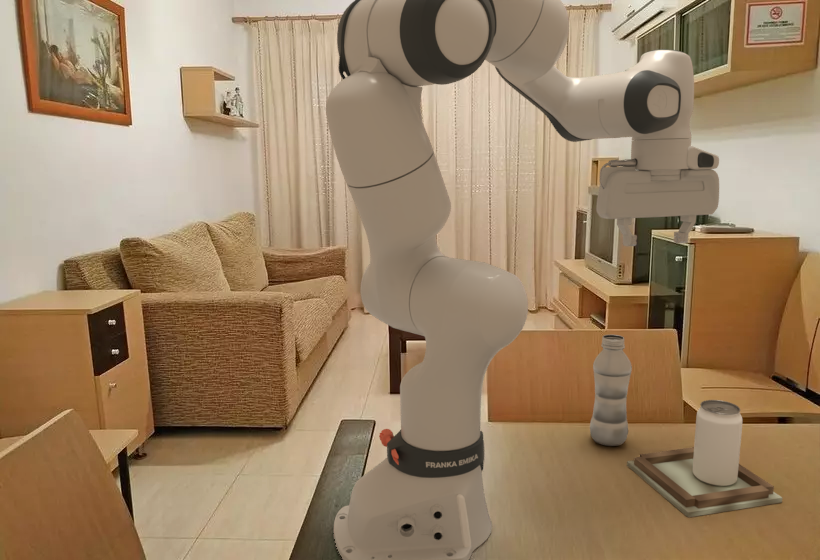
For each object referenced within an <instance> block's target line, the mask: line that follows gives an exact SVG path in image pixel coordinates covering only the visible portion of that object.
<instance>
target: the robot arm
mask: <svg viewBox="0 0 820 560" xmlns="http://www.w3.org/2000/svg"><path fill="white" fill-rule="evenodd" d="M569 32H570V19H569V13H568V10H567V8H566V6H565V4H564V3H563V1H562V0H353V1H352V2H351V3H350V4H349V5H348V6H347V7H346V8H345V10H344V11H343V12H342V14H341V17H340V19H339V22H338V26H337V33H336V36H337V37H336V43H337V46H336V47H337V53H338V57H339V59H338V73H339V75H340V77H341V78H342V80H341V81H340V82H339V83H337V84H336V85H335V86H333V87H334V88H332V90H331V91H330V93H329V94H328V96H327V99H326V103H325V114H326V120H327V125H328V130H329V133H330V138H331V142H332V143H331V144H332V145H333V149H334V150H333V151H334V152H335V156H336V160H337V162H338V165H339V169H340V171H341V173H342V177H343V178H344V180H345V183H346V185H347V188H348V190H349V191H348V192H349V193H350V195H351V198H352V201H353V203H354V205H355V207H356V210H357V212H358V215H359V218H360V221H361V223H362V226H363V228H364V231H365V234H366V238H367V242H368V246H369V256H370V257H369V259H370V261H369V264H368V265H367V266H366V269H364V272H363V274H362V277H361V282H360V292H359V293H360V299H361V303H362V305H363V306H364V308H365V310H366V311H367V313H369V315H371V316H372V317H375V318H376V319H378V321H381V322H382V323H384V324H385V325H387V326H389V327H391V328H393V329H396V330H400V331H404V332H406V333H407V332H408V333H412V334H415V335H419V336H422V337H424V339H425V345H426V346H425V352H424V353H425V354H424V357H423V360H422V362H419V363H417V364H416V365H414V366H413V367H411V368H410V369H409V370H408V371H407V372H406V373H405V374H404V375H403V377H402V379H401V381H400V385H399V394H400V395H399V399H400V401H399V402H400V407H399V409H400V430H399V431H398V432H396V434H395V435H394V433H393V431H392V430H391V429H390V428H384V429H382V430H381V431H380V432H379V440H380V442H381V445H382V446H384V447H386V458H385V459H384V460H382V461H381V462H380V463H378V464H377V465H376V466H374V467H373V468H372V469H370V470H369V471H368V472H367V473H365V474H364V475H362V476H361V477H359V478H358V479H357V480H356V481H355V483H354V486H353V488H352V489H351V494H350V498H349V504H348V505H344V506H342V507H341V508H340V509H339V511H337V513H336V515H335V518H334V521H333V533H334V534H333V540H334V539H335V541H334V544H335V543H336V545H335V548H336V547H337V548H336V550H337V549H338V551H339V553H340V555H341V556H342V558H341V560H470V558H471V557H472V555H473V552H474V551H475V550H476V549H477V548H479V547H480V546H482V544H484V542H486V541H487V539H488V538H489V537H490V535H491V532H492V529H493V523H492V520H491V517H490V514H489V509H488V505H487V502H486V495H485V489H484V482H483V474H482V473H483V470H484V463H485V441H484V440H485V439H484V432H483V431H482V430H481V419H482V418H481V413H482V411H481V409H482V395H483V394H482V392H483V384H484V379H485V375H486V373H487V370H488V367H489V365H490V363H491V362H492V360H493V359H494V357H495V356H496V355H497V354H498V353H499V352H500V351H501V350H503V349H504V348H506V347H508V346H509V345H510V344H511V343H512V342H514V340H515V339H517V337H518V336H519V335H520V333H521V332H522V330H523V329H524V327H525V324H526V322H527V318H528V313H529V299H528V295H527V290H526V288H525V285H524V284H523V281H522V280H521V279H520V278H519V277H518V276H517V275H516V274H514V273H513V272H510V271H507V270H505V269H503V268H501V267H498V266H495V265H493V264H490V263H488V262H485V261H478V260H472V259H463V258H455V257H449V256H446V255H445V254H443V253H442V251H441V250H440V248H439V246H438V242H437V235H438V234H439V233H440V232H441V231H442V230H443V228H444V226H445V225H446V223H447V222H448V220H449V218H450V214H451V212H452V211H451V209H452V203H451V199H450V197H449V193H448V190H447V187H446V184H445V182H444V178H443V175H442V172H441V169H440V166H439V164H438V160H437V158H436V154H435V152H434V148H433V145H432V143H431V140H430V138H429V135H428V132H427V130H426V128H425V125H424V123H423V118H422V112H421V111H422V107H421V102H422V99H421V98H422V92H423V86H424V87H426V86H431V85H432V86H433V85H449V84H454V83H457V82H459V81H462V80H464V79H466V78H468V77H470V76H471V75H473V74H474V73H475V72H477V71H478V70H479V68H480V67H481V66H482V65H483V64H484V62H485V61H486V62H488V63H489V64H491V65H492V66H494V68H495V70H496V72H497V74H498V75H499V77H500V78H502V80H503V81H504V82H506V83H507V85H509V87H511V88H512V89H513V90H515V91H516V92H517V93H518V94H520V95H521V96H522V97H523V98H525V100H527V101H528V102H530V103H531V104H532V105H533V106H534V107H536V108H537V109H538V110H540V112H542V113H543V114H544V115H545V117H546V118H547V120H549V122H550V123H551V125H552V127H553V128H554V130H556V132H557V133H558V134H559V135H560V137H561V138H563V139H565V140H566V141H568V142H572V143H574V142H575V143H577V142H584V141H591V140H597V139H599V140H600V139H619V138H620V139H621V138H631V149H630V158H629V159H628V158H626V159H610V160H608V162H606V163H605V164H603V166H601V168H600V169H599V170H600V171H599V187H598V191H597V200H596V209H595V210H596V213H597V215H598V217H599V218H600V219H601V218H602V219H605V220H606V219H607V220H616V226H617V227H618V230H619V231H620V233H621V235H622V245H623V247H635V246H637V243H638V242H637V239H638V235H637V234H633V233H632V231H631V228H630V226H632V223H633V222H632V221H633V219H641V218H642V219H645V218H661V217H663V218H664V217H679V218H680V222H682V223H681V225H680V227H679V229H678V231H674V232H673V236H674V237H673V242H674V243H675V244H687V243H689V233H690V232H691V230H692V229H693V227H694V226H695V224H696V223H697V216H704V215H705V216H707V215H709V216H711V215H713V214H714V213H715V212H716V211H717V209H718V208H719V202H720V177H719V175H718V172H717V171H716V170H715V169H718V167H719V164H720V158H719V156H718V155H716V154H714V153H712V152H709V151H707V150H703V149H701V148H698V147H696V146H693V145H692V131H691V129H690V128H691V127H690V123H691V117H692V115H693V112H694V104H695V78H694V76H695V75H694V66H693V61H692V58H691V56H690V55H689V54H687V53H685V52H683V51H680V50H679V49H678V50H677V49H667V48H666V49H665V48H664V49H663V48H662V49H659V48H658V49H654V50H649V51H646V52H644V53H643V54H642V55H641V56H640V59H639V61H638V62H637V63H636V64H635V65H633V66H630V68H627V69H625V70H624V71H618V72H612V73H606V74H600V75H599V74H598V75H592V76H583V77H582V76H578V77H574V76H567V75H565V73H563V72H562V71H561V70H560V69H559V68H557V67H556V64H557V62H558V61H559V60H560V58H561V56H562V55H563V52H564V50H565V49H566V46H567V42H568V39H569ZM344 73H345V74H344ZM338 551H337V552H338ZM339 553H338V554H339ZM340 555H339V556H340Z"/></svg>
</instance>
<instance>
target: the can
mask: <svg viewBox="0 0 820 560" xmlns="http://www.w3.org/2000/svg"><path fill="white" fill-rule="evenodd" d="M699 405H700V407H699V408H698V410H696V411H697V412H696V418H695V419H696V420H695V430H694V431H695V432H694V445H693V447H694V456H693V474H694V475H695V477H696V478H697V479H698V480H700V481H702V482H704V483H706V484H709V485H713V486H719V487H726V486H731V485H733V484H734V483H735V482H736V481H737V477H738V467H739V464H740V456H741V455H740V454H741V445H742V444H741V443H742V431H743V417H742V415H741V408H740V407H739V406H738V405H737V404H735V403H732V402H729V401H727V400H726V401H725V400H721V399H706V400H703V401H701V402H700V404H699Z"/></svg>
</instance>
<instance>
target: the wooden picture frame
mask: <svg viewBox="0 0 820 560" xmlns="http://www.w3.org/2000/svg"><path fill="white" fill-rule="evenodd" d="M693 456H694V446H693V447H692V446H691V447H686V448H678V449H670V450H664V451H654V452H649V453H641V454H639V456H636V457H635V456H634V457H633V460H627V461H626V467H628V468H629V469H631V471H633V472H634V473H635V474H636V475H637V476H639V477H640V479H642V480H643V481H645V482H646V483H647V484H648V485H649V486H650V487H651V488H653V490H655V491H656V492H658V493H659V494H660V495H661V496H662V497H663V498H665V499H666V500H667V501H668V502H669V503H670V504H671V505H673V506H674V507H675V508H676V509H677V510H679V511H680V512H681V513H682V514H683V515H684V516H685V517H687V518H693V517H701V516H706V515H713V514H718V513H723V512H730V511H737V510H743V509H750V508H755V507H761V506H768V505H775V504H780V503H781V504H782V503H783V497H782V496H781V495H780V494H778V493H776V492H775V491H774V489H775V487H774V485H772V484H771V483H769V482H768V481H766V480H765V479H763V478H761V477H760V476H758V475H757V474H755V473H754V472H752V471H751V470H750V469H748V468H746V467H744V465H742V464H740V463H739V467H738V477H737V481H736V482H735V483H734V484H733V485H731V486H726V487H719V486H713V485H709V484H706V483H704V482H702V481H700V480H698V479H697V478H696V477H695V475H694V474H693Z"/></svg>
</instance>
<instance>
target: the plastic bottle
mask: <svg viewBox="0 0 820 560" xmlns="http://www.w3.org/2000/svg"><path fill="white" fill-rule="evenodd" d="M601 339H602V340H601V345H600V346H601V348H602V350H601V351H600V352H599V353H598V355H597V356H596V357H595V359H594V361H593V363H592V364H593V366H592V369H593V377H594V393H595V394H594V404H593V409H592V410H593V412H592V416H591V418H590V424H589V431H590V437H591V439H593V441H594V442H595V443H597V444H600V445H603V446H608V447H615V446H616V447H617V446H620V445H622V444H624V442H625V441H626V440H627V438H628V434H629V424H628V419H627V418H628V416H627V399H628V397H627V395H628V391H629V384H630V379H631V375H632V371H633V370H632V369H633V368H632V367H633V366H632V362H631V360H630V358H629V357H628V355H627V354H626V353H625V352H624V350H625V348H626V347H625V337H624V336H622V335H618V334H604V335H602V338H601Z"/></svg>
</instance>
